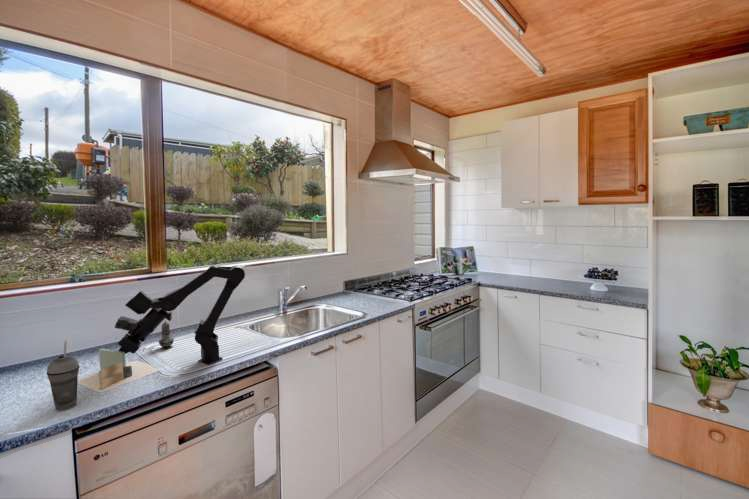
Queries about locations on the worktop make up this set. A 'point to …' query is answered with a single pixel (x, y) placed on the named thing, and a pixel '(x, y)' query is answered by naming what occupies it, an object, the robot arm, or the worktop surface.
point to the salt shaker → (166, 337)
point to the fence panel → (111, 358)
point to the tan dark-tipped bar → (113, 374)
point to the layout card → (137, 372)
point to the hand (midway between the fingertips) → (116, 356)
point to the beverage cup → (63, 380)
